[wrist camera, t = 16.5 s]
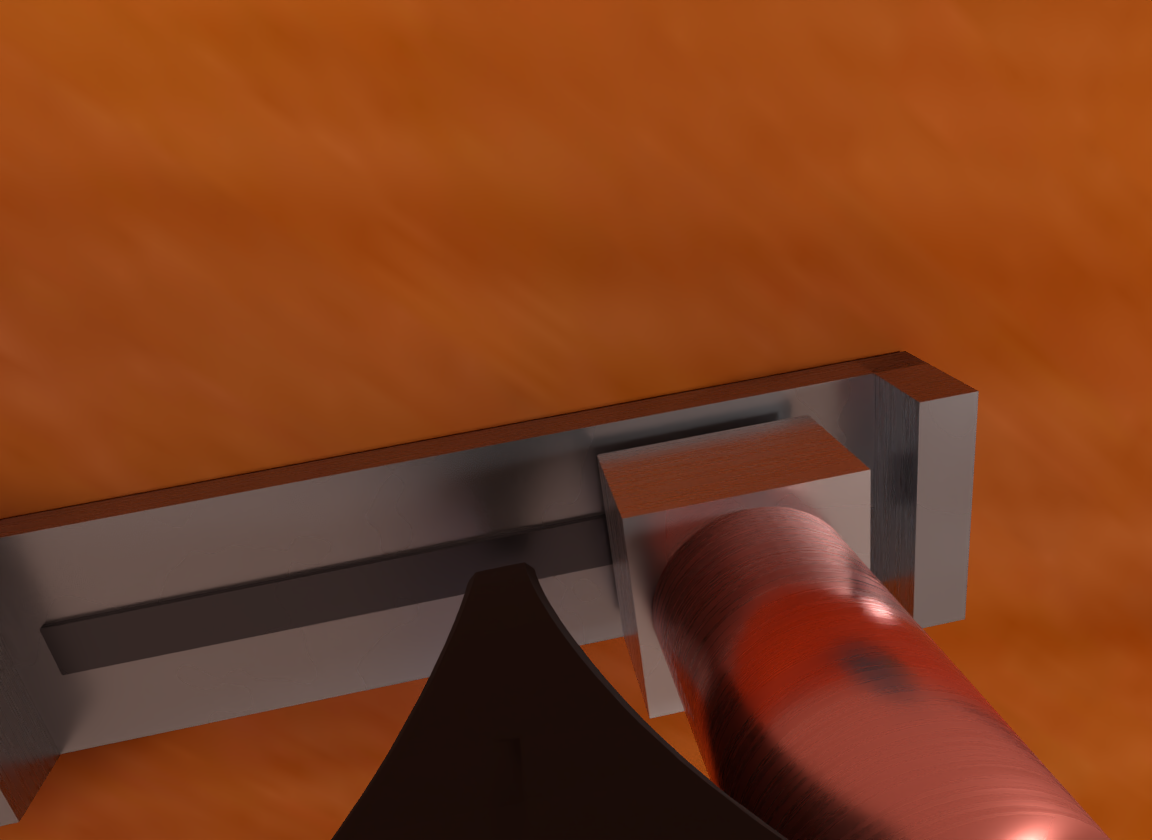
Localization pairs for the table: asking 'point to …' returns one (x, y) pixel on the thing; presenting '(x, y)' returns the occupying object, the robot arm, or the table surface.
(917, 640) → the lever
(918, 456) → the lever rail
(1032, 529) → the table surface
